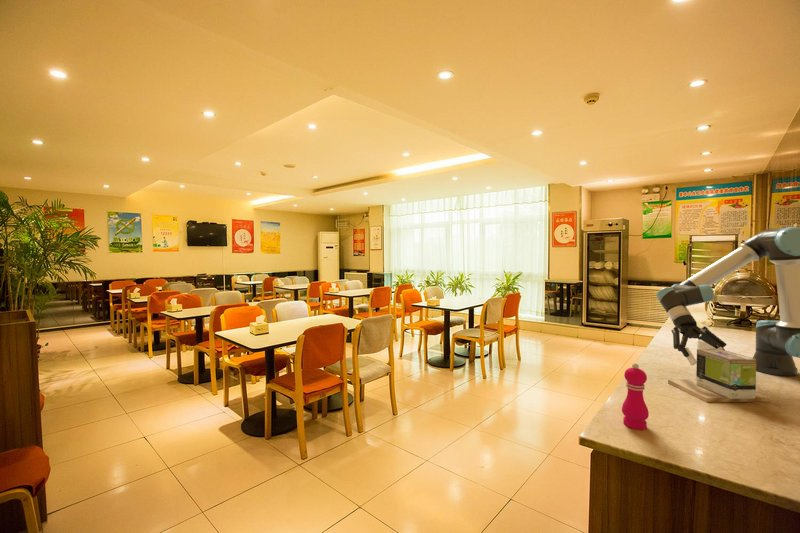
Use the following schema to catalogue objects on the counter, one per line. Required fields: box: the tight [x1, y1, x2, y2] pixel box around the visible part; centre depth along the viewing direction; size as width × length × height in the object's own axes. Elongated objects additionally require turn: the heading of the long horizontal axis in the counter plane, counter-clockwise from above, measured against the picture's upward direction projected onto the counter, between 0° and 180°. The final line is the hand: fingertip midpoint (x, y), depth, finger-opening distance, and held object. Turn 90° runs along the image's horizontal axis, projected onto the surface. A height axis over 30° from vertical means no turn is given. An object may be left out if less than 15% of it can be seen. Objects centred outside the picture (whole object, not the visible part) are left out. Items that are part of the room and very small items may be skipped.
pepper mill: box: [621, 362, 650, 431], centre depth 115 cm, size 7×7×20 cm
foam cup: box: [695, 338, 718, 350], centre depth 169 cm, size 10×9×13 cm
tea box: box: [695, 349, 757, 399], centre depth 137 cm, size 15×10×15 cm, turn 1°
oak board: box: [667, 378, 771, 403], centre depth 141 cm, size 23×19×2 cm
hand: (711, 363), depth 142 cm, fingers open, 13 cm apart
